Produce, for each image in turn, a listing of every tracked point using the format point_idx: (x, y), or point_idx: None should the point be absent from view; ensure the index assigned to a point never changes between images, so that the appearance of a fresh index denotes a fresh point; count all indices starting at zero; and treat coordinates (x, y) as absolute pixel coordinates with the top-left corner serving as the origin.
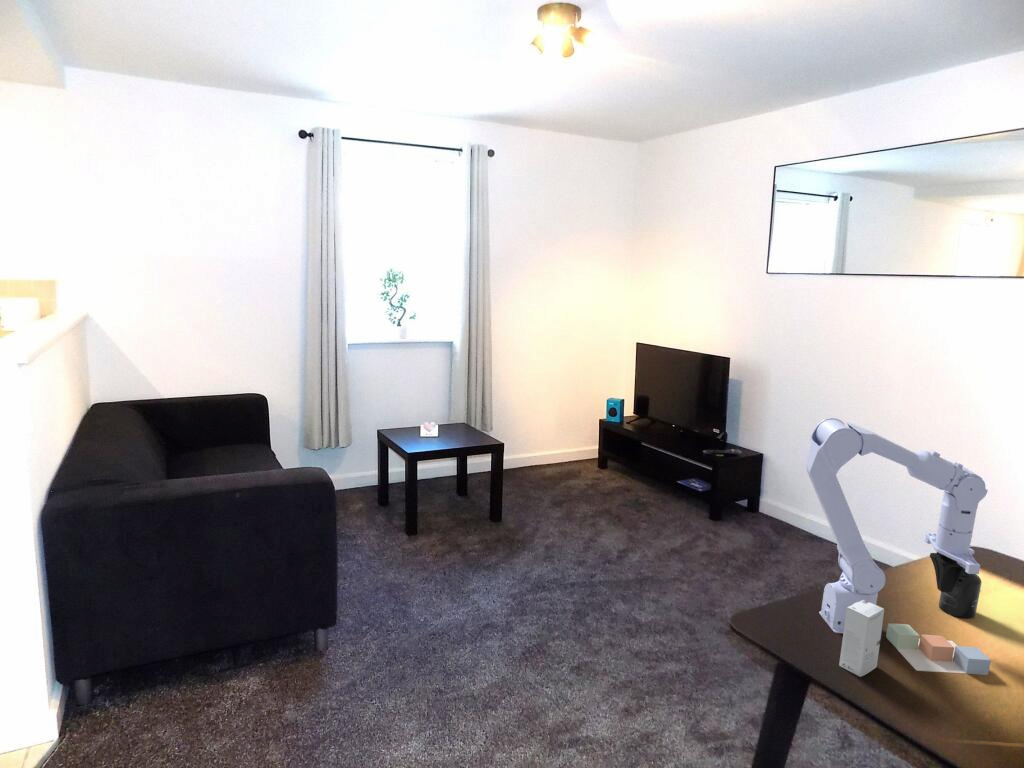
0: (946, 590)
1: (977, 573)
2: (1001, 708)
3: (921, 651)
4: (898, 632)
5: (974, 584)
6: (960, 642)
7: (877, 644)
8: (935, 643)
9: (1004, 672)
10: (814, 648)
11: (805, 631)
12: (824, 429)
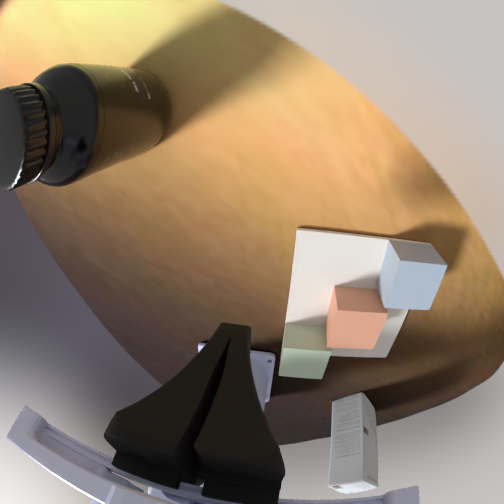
0: (249, 348)
1: (415, 491)
2: (488, 285)
3: None
4: (315, 377)
5: (96, 106)
6: (295, 201)
7: (367, 430)
8: (365, 340)
9: (425, 189)
10: (304, 422)
11: None
12: None
